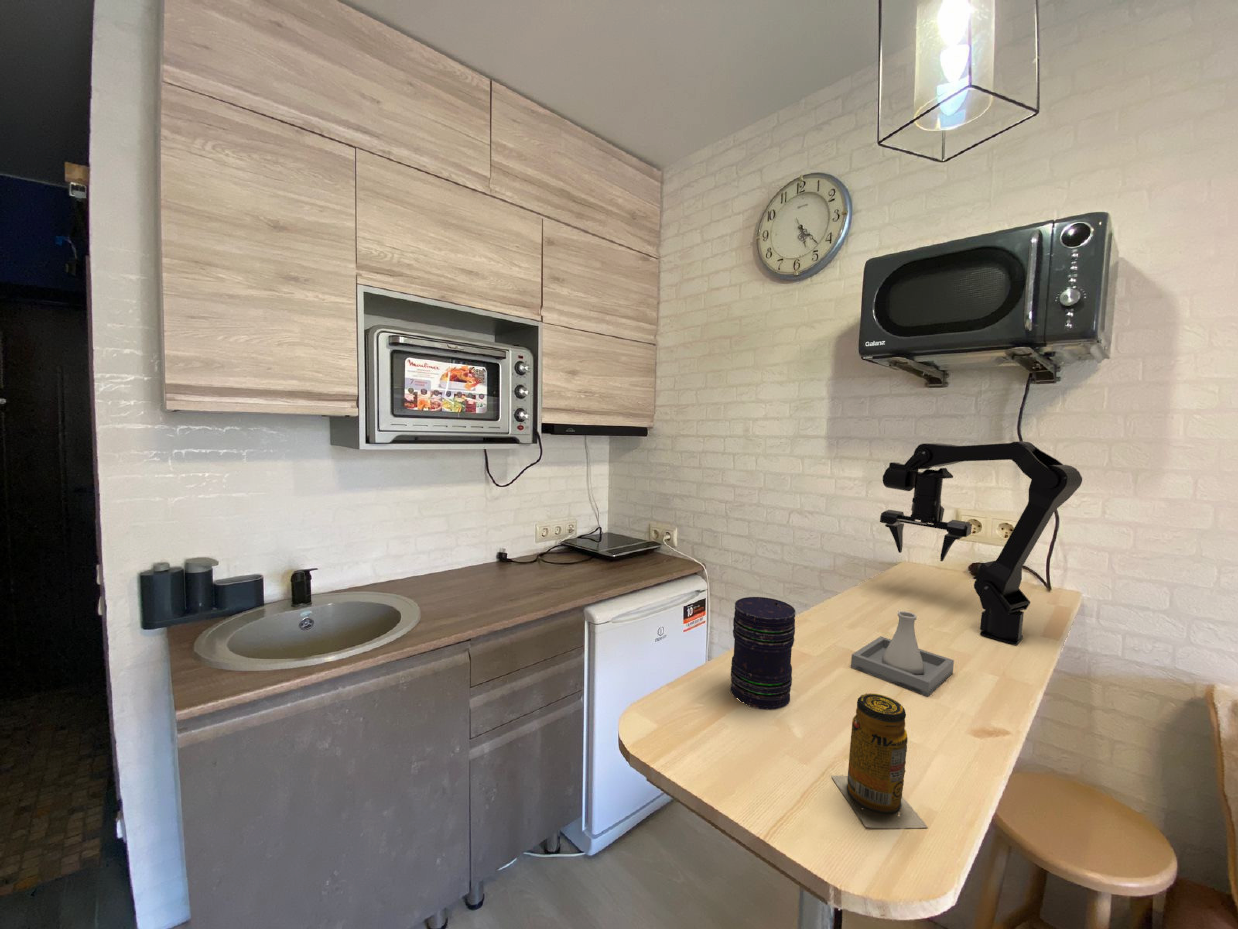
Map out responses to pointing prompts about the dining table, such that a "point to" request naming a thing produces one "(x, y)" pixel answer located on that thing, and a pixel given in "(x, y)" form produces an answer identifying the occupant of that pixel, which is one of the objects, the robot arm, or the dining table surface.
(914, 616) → the flask
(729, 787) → the dining table surface
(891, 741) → the condiment
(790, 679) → the storage jar
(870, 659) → the tray
